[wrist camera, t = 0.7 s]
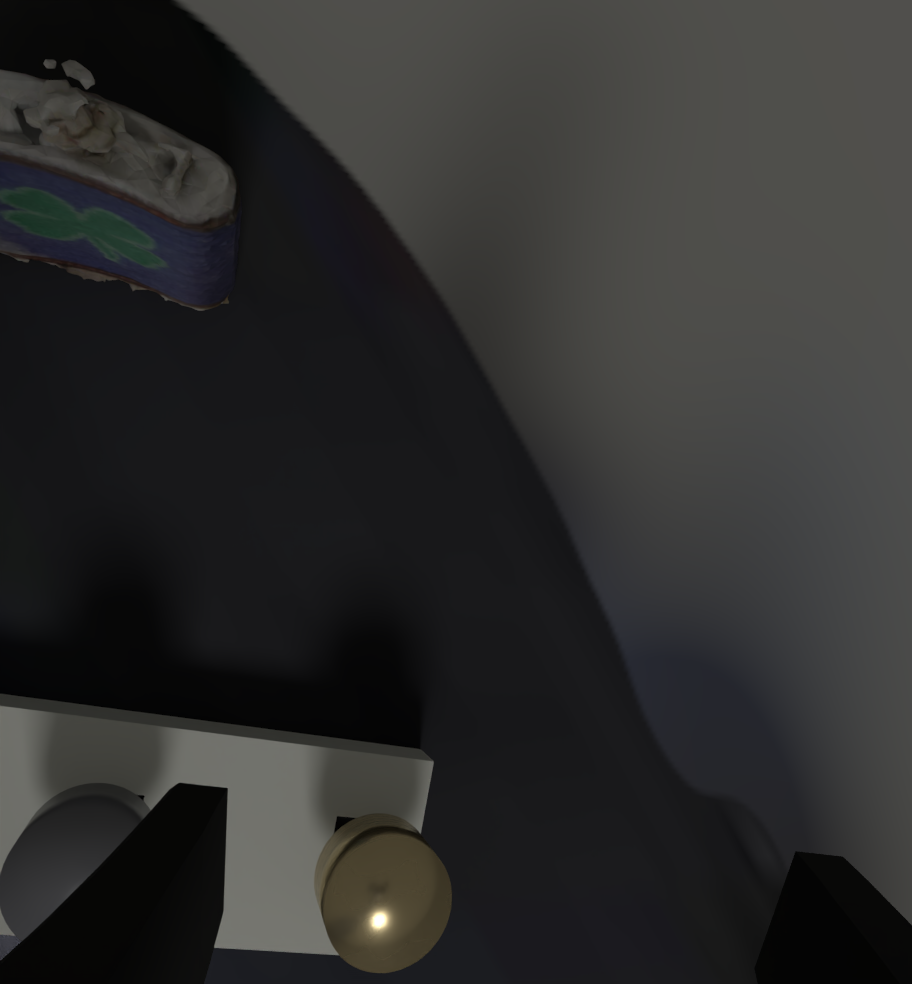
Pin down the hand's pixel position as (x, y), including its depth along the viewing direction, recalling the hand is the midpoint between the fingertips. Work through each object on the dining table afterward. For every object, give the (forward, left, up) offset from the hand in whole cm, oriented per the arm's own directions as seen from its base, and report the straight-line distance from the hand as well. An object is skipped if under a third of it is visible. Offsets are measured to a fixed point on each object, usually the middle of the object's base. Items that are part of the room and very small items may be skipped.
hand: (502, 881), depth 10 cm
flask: (+2, +17, -22) cm, 28 cm away
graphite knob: (-9, 0, -20) cm, 21 cm away
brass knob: (-2, -7, -20) cm, 21 cm away
